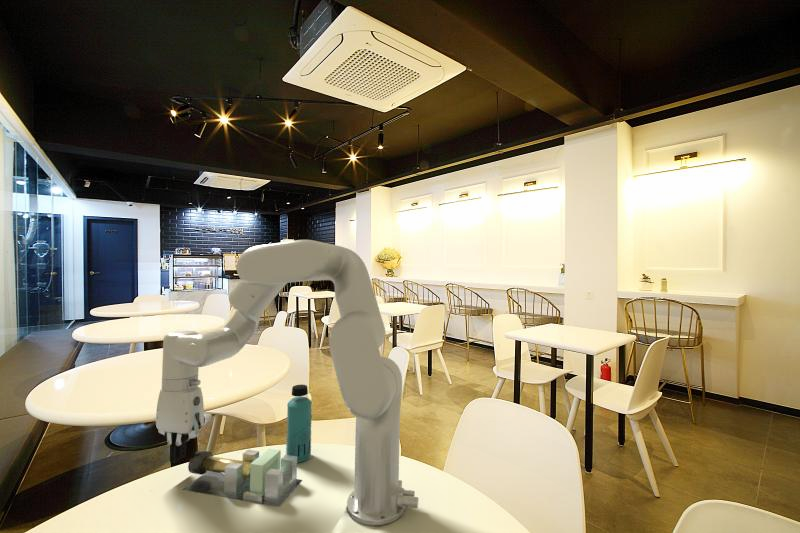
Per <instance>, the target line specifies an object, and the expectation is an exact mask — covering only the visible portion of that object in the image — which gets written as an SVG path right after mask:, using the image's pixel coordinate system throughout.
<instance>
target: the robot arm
mask: <svg viewBox="0 0 800 533" xmlns="http://www.w3.org/2000/svg"><path fill="white" fill-rule="evenodd" d="M236 272H237V275H238V277H239V279H240V280H239V281H238V283H237V284H236V285H235V286H234V287H233V289H232V290H231V291H230V293H229V294H228V302H229V304H230V306H231V307H232V308H233V309H234V310H235V312H234V314H233V315H232V317H231V318H230V319H229V321H228V322H227V323H226V324H225V325H224V326H223V327H222V328H221V329H217V330H213V331H212V330H211V331H209V332H208V331H207V332H203V333H200V334H199V332H197V331H194V330H177V331H171V332H169V333H167V334H165V335H164V337H163V341H162V342H163V343H162V366H161V368H162V371H161V389H160V390H159V393H158V394H159V395H158V397H157V404H156V414H155V426H156V428H157V430H158V431H157V432H158V433H159V434H160V435H163V436H164V437H165V438H166V441H167V445H168V446H169V463H174V464H176V463H178V462H180V461H182V460H183V459H185V458H186V456H187V442H188V441H190V439H196V438H197V437H199V436H200V430H199V429H200V428H202V427H203V426H204V423H205V409H204V407H205V406H204V397H203V392H202V387H200V385H201V379H199V368H203V367H207V366H210V365H213V364H215V363H218V362H221V361H224V360H227V359H230V358H232V357H234V356H235V355H236V354H239V352H240V351H241V350H242V349H243V348H244V347H245V346H246V345H247V343H249V341H250V340H251V338H253V336H254V334H255V333H256V331H257V329H258V327H259V324H260V321H261V316H262V314H263V312H264V311H265V310H266V309H267V308H268V306H270V304H271V303H272V301H273V300H274V299H275V298H276V297H277V296H278V295H279V293H280V292H281V291H282V290H283V288H285V286H287V284H288V283H289V284H290V283H298V282H312V281H315V282H316V281H331V282H332V283H333V286H334V297H335V301H336V305H337V308H338V312H339V315H340V318H338V319H337V320H336V321H335V323H333V325H332V327H331V330H330V332H329V335H328V336H329V339H328V345H329V346H328V347H329V352H330V356H331V361H332V363H333V367H334V372H335V376H336V378H337V382H338V387H339V390H340V394H341V396H342V400H343V402H344V405H345V406H346V408H347V409H348V411H349V412H350V413H351V414H352V415H353V416H355V437H354V438H355V439H354V440H355V444H354V445H355V446H354V447H355V448H354V450H355V451H354V490H353V491H352V492H351V493H350V494H349V495H348V497H347V501H346V511H347V513H348V515H349V516H350V517H351V519H352V520H354V521H355V522H357V523H359V524H363V525H367V526H383V525H388V524H391V523H393V522H395V521H396V520H398V519H399V518H400V517H401V516H402V515H403V514H404V512H405V510H406V507H408V508H412V509H413V508H414V509H418V508H419V497H417V496H415V495H416V492H415V490H410V489H409V490H408V489H405V488H404V487H403V480H400V476H399V475H400V474H399V473H400V433H401V432H400V431H401V427H400V426H401V423H400V422H401V404H402V393H403V377H402V376H403V375H402V372H401V369H400V368H399V366H398V364H397V363H396V362H395V361H394V360H393V359H391V358H390V357H387V356H381V355H382V354H381V351H380V347H382V345H383V343H384V342H385V340H386V328H385V324H384V321H383V317H382V314H381V311H380V308H379V303H378V301H377V296H376V295H375V292H374V288H373V285H372V281H371V277H370V275H369V272H368V268H367V266H366V264H365V262H364V261H363V259H362V258H361V256H359V254H357V253H356V252H355V251H354V250H352V249H350V248H348V247H347V248H346V247H344V246H341V245H337V244H332V243H327V242H322V241H318V240H313V239H297V240H296V239H294V240H290V241H289V240H288V241H284V242H283V241H281V242H275V243H268V244H259V245H254V246H252V247H251V246H250V247H249V248H247V249H246V250H244V251H243V252H242V253H241V255H240V256H239V258H238V260H237V262H236Z"/></svg>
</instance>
